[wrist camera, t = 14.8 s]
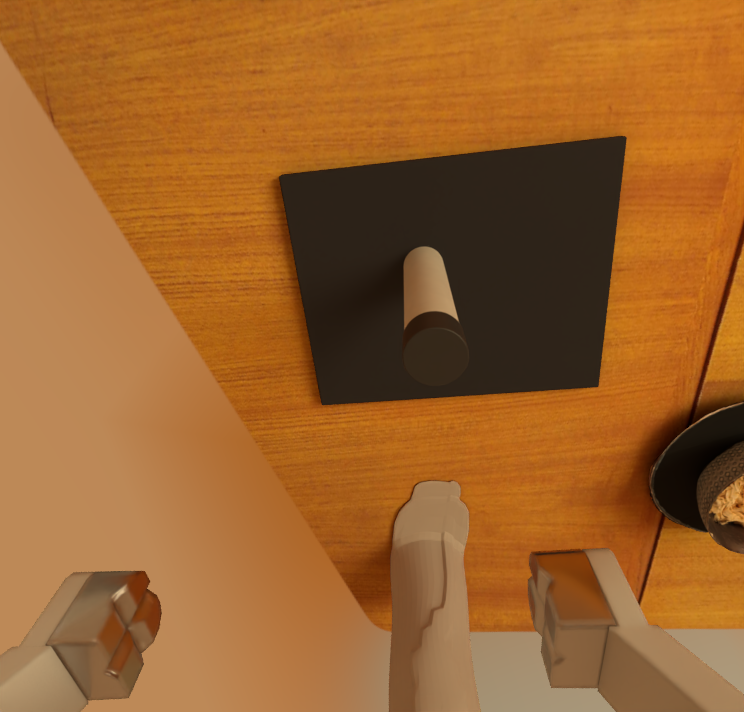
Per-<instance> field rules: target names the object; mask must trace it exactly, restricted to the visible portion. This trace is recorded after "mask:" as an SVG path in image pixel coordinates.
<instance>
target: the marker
mask: <svg viewBox="0 0 744 712" xmlns="http://www.w3.org/2000/svg"><path fill="white" fill-rule="evenodd" d="M402 357H403V364H404V367H405V369H406V371H407V373H408V374H409V375H410V376H411V377H412V378H413V379H414V380H416V381H418V382H420V383H422V384H425V385H430V386H440V385H445V384H448V383H450V382H452V381H454V380H456V379H457V378H458V377H459V376H460V375H461V374H462V373H463V372H464V370H465V369H466V367H467V364H468V361H469V350H468V346H467V342H466V338H465V335H464V331H463V328H462V326H461V325H460V323H459V320H458V316H457V313H456V309H455V305H454V301H453V297H452V293H451V290H450V286H449V282H448V278H447V274H446V270H445V267H444V263H443V259H442V257H441V255H440V254H439V253H438V252H437V251H436V250H435V249H433V248H430V247H418V248H415V249H414V250H412V251H411V252H410V253H409V254H408V255H407V256H406V258H405V261H404V333H403V338H402Z"/></svg>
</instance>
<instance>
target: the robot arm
mask: <svg viewBox="0 0 744 712" xmlns="http://www.w3.org/2000/svg"><path fill="white" fill-rule="evenodd" d="M529 566H530V570H531V573H532V576H531V577H530V578H529V579H528V597H529V606H530V611H531V616H532V620H533V624H534V628H535V630H536V631H537V632H538V633H539V634H540V635H541V636H542V646H541V653H542V657H543V661H544V664H545V668H546V671H547V675H548V679H549V682H550V686H551V688H598V691H599V693H600V694H601V695H602V696H603V697H604V698H605V700H606V701H607V702H608V703H609V704H610V705H611V706H612V708H613V709H614V710H615V711H616V712H744V694H743V693H742V692H740V691H739V690H737V688H735V687H734V686H733V685H732V684H730V683H729V682H728V681H727V680H725V679H724V678H723V677H722V676H720V675H719V674H718V673H717V672H715V671H714V670H713V669H712V668H710V667H709V666H708V665H707V664H705V663H704V662H703V661H702V660H700V659H699V658H698V657H696V656H695V655H694V654H693V653H692V652H690V651H689V650H688V649H687V648H685V647H684V646H683V645H682V644H680V643H679V642H677V640H675V639H674V638H673V637H672V636H670V635H669V634H668V633H667V632H665V631H664V630H663V629H662V628H660V627H659V626H658V625H649V624H648V622H647V620H646V618H645V616H644V614H643V612H642V610H641V608H640V606H639V604H638V602H637V600H636V598H635V596H634V594H633V592H632V590H631V588H630V586H629V584H628V582H627V580H626V578H625V576H624V574H623V572H622V570H621V568H620V566H619V564H618V562H617V560H616V558H615V556H614V554H613V552H612V551H611V550H610V549H609V548H600V549H582V550H581V549H570V550H553V551H537V552H531V554H530V557H529ZM149 583H150V580H149V578H148V577H147V574H146V573H145V571H113V572H112V571H111V572H76V573H73V574H71V575H70V576H69V577H67V578H66V579H65V580H64V582H63V583H62V584H61V586H60V587H59V589H58V590H57V592H56V593H55V595H54V596H53V598H52V599H51V601H50V602H49V603H48V605H47V606H46V608H45V609H44V611H43V612H42V614H41V615H40V617H39V618H38V619H37V621H36V622H35V624H34V625H33V627H32V628H31V630H30V631H29V632H28V634H27V635H26V637H25V638H24V640H23V641H22V643H21V644H20V646H19V647H12V648H10V649H9V650H7V651H6V652H5V653H3V654H2V655H1V656H0V712H81V710H82V709H83V708H84V707H85V706H86V705H87V704H88V701H87V700H103V699H122V698H129V696H130V694H131V692H132V690H133V687H134V685H135V683H136V681H137V678H138V676H139V674H140V672H141V669H142V667H143V665H144V663H143V658H142V654H141V653H142V652H143V651H145V650H146V649H147V648H148V647H149V646H150V645H151V644H152V643H153V642H154V640H155V637H156V635H157V632H158V630H159V626H160V620H161V614H162V613H161V605H160V601H159V599H158V597H157V595H156V594H154V593H152V592H151V591H150V590H148V589H147V587H148V585H149Z"/></svg>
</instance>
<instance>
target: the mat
mask: <svg viewBox="0 0 744 712" xmlns="http://www.w3.org/2000/svg"><path fill="white" fill-rule="evenodd" d="M625 147H626V137H625V136H616V137H608V138H599V139H590V140H581V141H573V142H564V143H555V144H546V145H538V146H529V147H520V148H511V149H503V150H494V151H485V152H476V153H468V154H459V155H450V156H441V157H433V158H424V159H415V160H406V161H398V162H389V163H380V164H371V165H363V166H354V167H345V168H336V169H328V170H319V171H310V172H301V173H293V174H284V175H281V176H279V180H280V185H281V191H282V196H283V201H284V206H285V212H286V217H287V222H288V228H289V233H290V238H291V244H292V249H293V254H294V260H295V265H296V270H297V276H298V281H299V286H300V291H301V297H302V302H303V307H304V313H305V318H306V323H307V329H308V334H309V339H310V345H311V350H312V355H313V361H314V366H315V371H316V377H317V382H318V387H319V392H320V398H321V403H322V405H333V404H348V403H363V402H378V401H393V400H409V399H424V398H439V397H454V396H469V395H484V394H499V393H515V392H530V391H545V390H560V389H575V388H590V387H598V385H599V376H600V367H601V359H602V350H603V341H604V332H605V323H606V314H607V306H608V297H609V288H610V279H611V270H612V262H613V253H614V244H615V235H616V226H617V217H618V209H619V200H620V191H621V182H622V173H623V165H624V156H625ZM418 247H430V248H433V249H435V250H436V251H437V252H438V253H439V254H440V255H441V257H442V259H443V263H444V267H445V270H446V274H447V278H448V282H449V286H450V290H451V293H452V297H453V301H454V305H455V309H456V313H457V316H458V320H459V323H460V325H461V326H462V328H463V331H464V335H465V338H466V342H467V346H468V350H469V361H468V364H467V367H466V369H465V370H464V372H463V373H462V374H461V375H460V376H459V377H458V378H457V379H456V380H454V381H452V382H450V383H448V384H445V385H440V386H430V385H425V384H422V383H420V382H418V381H416V380H414V379H413V378H412V377H411V376H410V375H409V374H408V373H407V371H406V369H405V367H404V364H403V357H402V338H403V333H404V261H405V258H406V256H407V255H408V254H409V253H410V252H411V251H412V250H414V249H415V248H418Z"/></svg>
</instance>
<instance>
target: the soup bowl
mask: <svg viewBox="0 0 744 712" xmlns="http://www.w3.org/2000/svg"><path fill="white" fill-rule="evenodd" d="M649 484H650V485H649V488H650V491H651V492H650V495H651V497H652V501H653V503H654V504H655V506H656V507H657V509H658V510H659V511H660V512H662V514H663V515H664V516H666V517H667V518H668V519H669V520H671V521H673V522H675V523H677V524H680V525H683V526H685V527H688V528H691V529H694V530H696V531H700V532H709V534H710V535H711V537H712V538H713V539H714V540H715V541H716V542H717V543H718V544H719V545H722V546H723V547H725V548H726V549H728V550H730V551H733V552H736V553H741V554H744V402H740V403H735V404H733V405H730V406H727V407H723V408H721V409H718V410H715V411H713V412H711V413H709V414H707V415H705V416H703V417H702V418H701V419H700V420H698V421H697V422H696V423H694V424H692V425H691V426H690V427H688V428H687V429H685V430H684V431H683V432H682V433H681V434H680V435H679V436H677V437H676V438H675V439H674V440H673V441H672V442H671V443H670V445H669V446H668V447H667V448H666V449H665V450H664V452H663V453H662V454H661V455H660V456H659V457H658V458H657V459H656V461H655V462H654V463H653V465H652V466H651V470H650V476H649Z"/></svg>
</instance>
